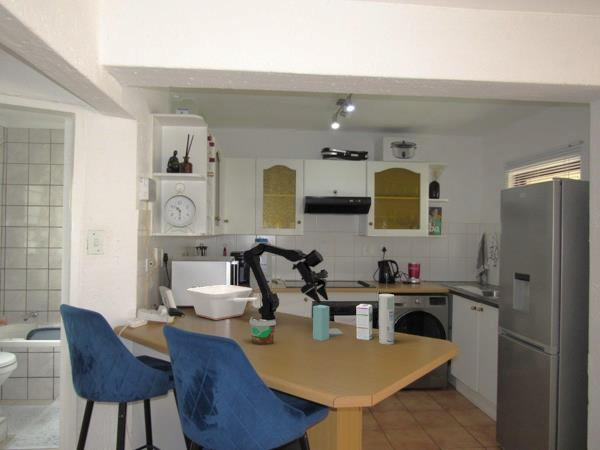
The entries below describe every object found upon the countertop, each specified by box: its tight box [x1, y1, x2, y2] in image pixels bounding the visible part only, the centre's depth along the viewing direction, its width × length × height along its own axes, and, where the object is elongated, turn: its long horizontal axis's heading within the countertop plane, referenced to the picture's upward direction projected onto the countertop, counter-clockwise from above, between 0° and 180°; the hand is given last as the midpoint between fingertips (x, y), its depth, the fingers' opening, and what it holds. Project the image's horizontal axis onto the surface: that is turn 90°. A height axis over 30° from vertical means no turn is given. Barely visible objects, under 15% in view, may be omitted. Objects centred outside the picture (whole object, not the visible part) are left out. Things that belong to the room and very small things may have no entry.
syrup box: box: [355, 303, 374, 341], centre depth 182 cm, size 6×6×14 cm
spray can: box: [378, 293, 395, 345], centre depth 175 cm, size 6×6×20 cm
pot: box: [186, 284, 258, 321], centre depth 220 cm, size 29×44×15 cm, turn 47°
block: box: [312, 304, 330, 342], centre depth 181 cm, size 5×5×14 cm
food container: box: [248, 316, 277, 346], centre depth 172 cm, size 12×6×10 cm, turn 62°
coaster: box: [329, 327, 344, 337], centre depth 190 cm, size 10×10×1 cm
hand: (323, 301), depth 192 cm, fingers open, 9 cm apart
